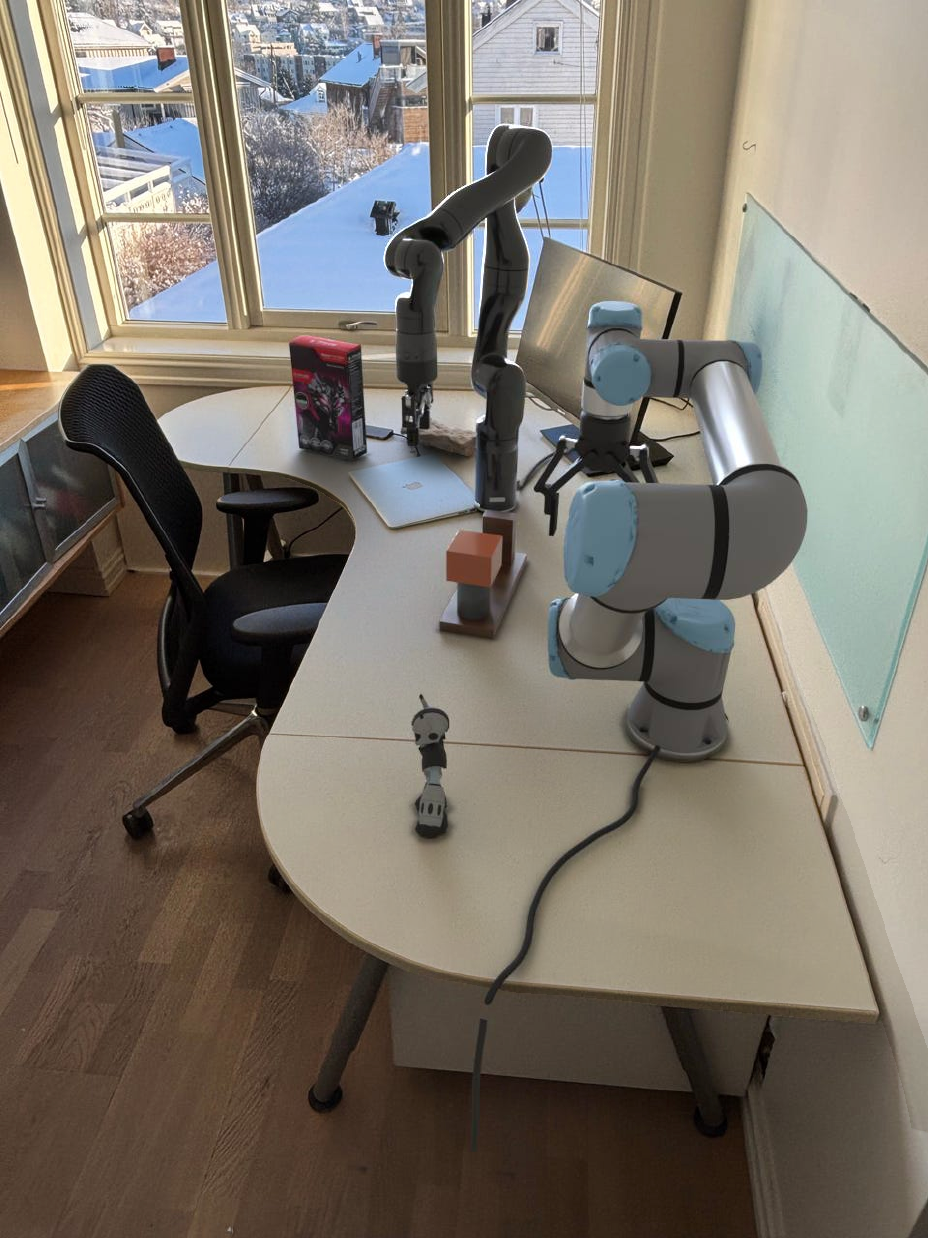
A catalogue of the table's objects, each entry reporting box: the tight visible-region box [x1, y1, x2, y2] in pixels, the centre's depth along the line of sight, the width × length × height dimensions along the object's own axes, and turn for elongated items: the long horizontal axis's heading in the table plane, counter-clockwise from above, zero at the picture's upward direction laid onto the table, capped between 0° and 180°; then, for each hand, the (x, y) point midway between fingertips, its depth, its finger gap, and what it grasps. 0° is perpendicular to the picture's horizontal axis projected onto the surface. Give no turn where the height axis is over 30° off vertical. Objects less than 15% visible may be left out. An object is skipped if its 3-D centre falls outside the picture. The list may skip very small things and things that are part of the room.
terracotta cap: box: [445, 529, 502, 587], centre depth 161 cm, size 8×8×6 cm
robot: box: [410, 693, 450, 839], centre depth 122 cm, size 20×5×20 cm, turn 3°
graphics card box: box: [288, 334, 368, 462], centre depth 223 cm, size 17×7×27 cm, turn 62°
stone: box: [400, 416, 476, 457], centre depth 232 cm, size 21×15×6 cm
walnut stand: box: [439, 510, 528, 640], centre depth 172 cm, size 28×10×12 cm, turn 165°
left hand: (418, 436), depth 177 cm, fingers open, 8 cm apart
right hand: (594, 538), depth 148 cm, fingers open, 13 cm apart
